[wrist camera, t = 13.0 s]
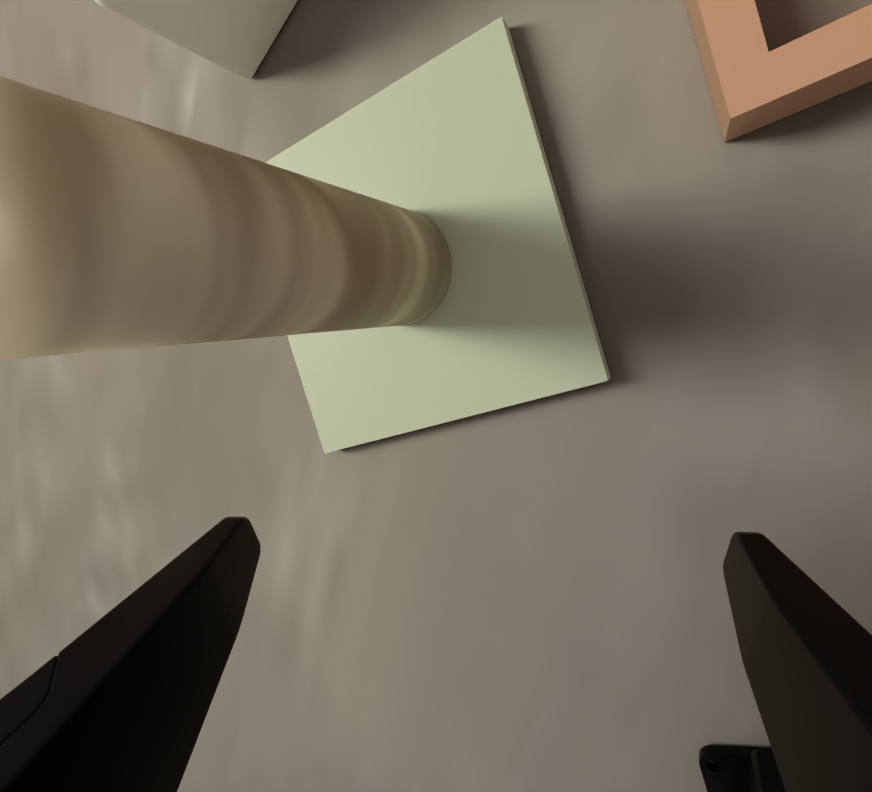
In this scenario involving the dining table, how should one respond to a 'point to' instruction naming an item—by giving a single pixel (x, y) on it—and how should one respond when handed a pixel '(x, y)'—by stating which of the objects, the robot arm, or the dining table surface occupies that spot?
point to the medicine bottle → (212, 26)
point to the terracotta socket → (775, 63)
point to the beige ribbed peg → (186, 240)
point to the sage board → (453, 253)
